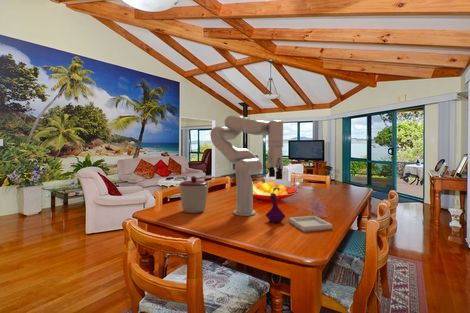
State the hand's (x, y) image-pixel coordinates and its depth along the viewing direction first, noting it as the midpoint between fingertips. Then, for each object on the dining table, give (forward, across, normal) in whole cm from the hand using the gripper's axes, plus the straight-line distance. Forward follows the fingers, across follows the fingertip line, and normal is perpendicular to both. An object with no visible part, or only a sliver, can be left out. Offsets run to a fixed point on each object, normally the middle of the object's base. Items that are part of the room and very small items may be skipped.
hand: (275, 177), depth 132 cm
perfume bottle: (+23, -1, 0) cm, 23 cm away
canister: (+23, -30, -40) cm, 55 cm away
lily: (+24, -6, +27) cm, 37 cm away
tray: (+23, +8, +15) cm, 29 cm away
